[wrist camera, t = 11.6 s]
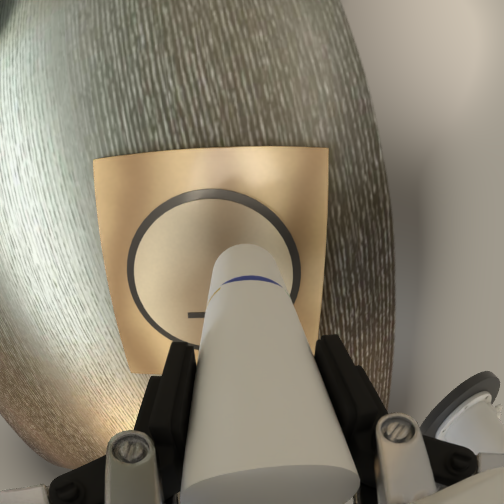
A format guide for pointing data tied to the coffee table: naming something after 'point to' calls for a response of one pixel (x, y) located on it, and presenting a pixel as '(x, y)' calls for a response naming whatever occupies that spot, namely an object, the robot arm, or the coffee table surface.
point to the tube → (260, 398)
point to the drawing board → (205, 235)
